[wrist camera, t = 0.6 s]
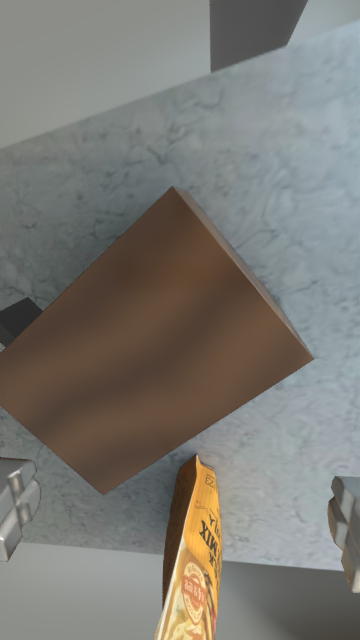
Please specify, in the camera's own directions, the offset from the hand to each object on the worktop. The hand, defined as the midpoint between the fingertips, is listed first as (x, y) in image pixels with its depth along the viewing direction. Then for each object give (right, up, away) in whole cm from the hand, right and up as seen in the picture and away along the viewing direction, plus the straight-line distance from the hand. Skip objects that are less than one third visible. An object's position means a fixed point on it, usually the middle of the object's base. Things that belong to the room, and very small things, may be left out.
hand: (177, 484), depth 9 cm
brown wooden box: (-2, +5, +22) cm, 23 cm away
